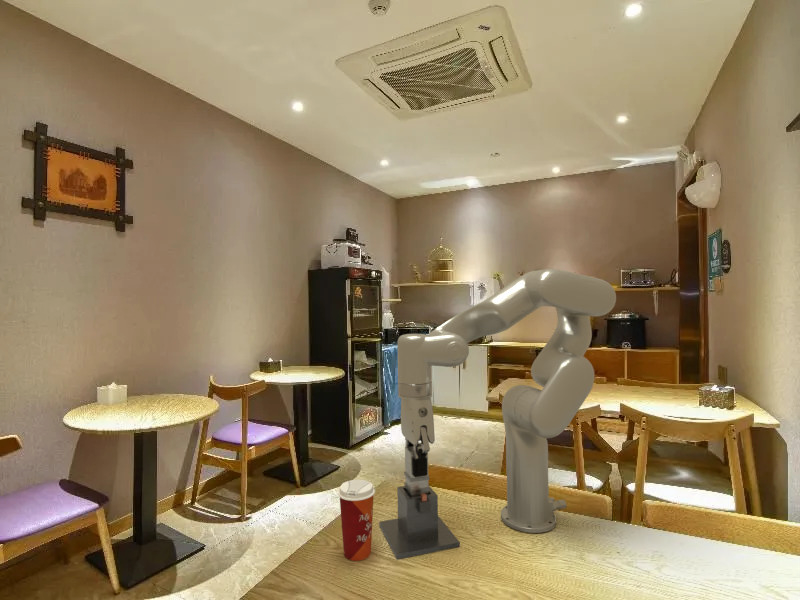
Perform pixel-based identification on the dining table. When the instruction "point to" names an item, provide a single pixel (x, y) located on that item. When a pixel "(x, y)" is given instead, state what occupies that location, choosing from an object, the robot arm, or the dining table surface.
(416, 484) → the column
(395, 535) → the stand base
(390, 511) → the dining table surface
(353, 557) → the paper cup
